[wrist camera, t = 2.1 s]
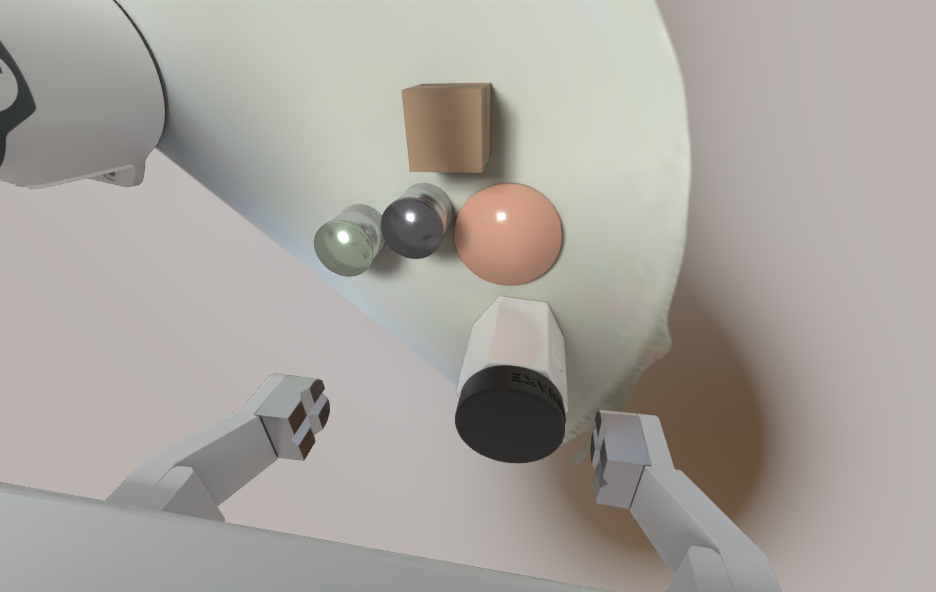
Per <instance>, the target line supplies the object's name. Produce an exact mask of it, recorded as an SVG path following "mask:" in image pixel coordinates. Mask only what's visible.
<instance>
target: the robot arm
mask: <svg viewBox="0 0 936 592" xmlns="http://www.w3.org/2000/svg"><path fill="white" fill-rule="evenodd" d="M164 120H165V106H164V97H163V92H162V87H161V83H160V80H159V77H158V74H157V71H156V68H155V66H154V63H153V61H152V58H151V56H150V54H149V52H148V50H147V48H146V46H145V44H144V43H143V41H142V39H141V37H140V36H139V34H138V33H137V31H136V29H135V28H134V26H133V25H132V24H131V22H130V21H129V19H128V18H127V17H126V15H125V14H124V13H123V12H122V10H121V9H120V8H119V7H118V6H117V4H116V3H115V2H114V1H113V0H0V182H8V183H11V184H15V185H16V186H20V187H27V188H29V189H41V188H46V187H50V186H54V185H59V184H63V183H68V182H72V181H76V180H80V179H85V178H89V179H93V180H98V181H102V182H106V183H111V184H115V185H119V186H123V187H131V186H136V185H139V184H141V183H142V181H143V177H144V170H145V160H146V158H147V156H148V155H149V154H150V152H151V151H152V150H153V149H154V148H155V146H156V145H157V143H158V141H159V140H160V137H161V135H162V131H163V127H164ZM324 389H325V387H324V384H323V381H322V380H319V379H314V378H306V377H300V376H292V375H283V374H275V373H274V374H272V375H270V376H269V377H268V378H267V379H266V380H265V382H264V383H263V384H262V385H261V386H260V387H259V389H258V390H257V391H256V392H255V393H254V394H253V396H252V397H251V398H250V399H249V400H248V401H247V403H246V404H245V405H244V406H243V407H242V408H241V410H240V411H239V412H238V413H231V414H229V415H227V416H226V417H224V418H222V419H220V420H218V421H216V422H214V423H212V424H211V425H209V426H207V427H205V428H203V429H201V430H199V431H197V432H196V433H194V434H192V435H190V436H188V437H186V438H184V439H182V440H180V441H179V442H177V443H175V444H173V445H171V446H169V447H167V448H165V449H164V450H162V451H160V452H158V453H156V454H154V455H152V456H150V457H149V458H147V459H145V460H144V461H143V462H142V463H141V464H140V465H139V466H138V467H137V469H135V471H133V473H132V474H131V475H130V476H129V477H128V478H127V479H126V480H125V481H124V482H123V483H122V484H121V485H120V486H119V487H118V488H117V489H116V490H115V491H114V492H113V493H112V494H111V495H110V496H109V497H108V498H107V499H106V500H105V501H103V500H97V499H91V498H86V497H80V496H75V495H69V494H63V493H58V492H52V491H46V490H41V489H36V488H30V487H25V486H19V485H14V484H8V483H3V482H0V592H614V591H609V590H603V589H597V588H592V587H586V586H581V585H574V584H569V583H563V582H558V581H552V580H547V579H541V578H536V577H530V576H524V575H519V574H513V573H508V572H502V571H496V570H491V569H485V568H480V567H474V566H468V565H462V564H457V563H452V562H446V561H440V560H434V559H429V558H424V557H418V556H412V555H406V554H401V553H395V552H390V551H384V550H379V549H373V548H367V547H362V546H355V545H350V544H345V543H339V542H333V541H328V540H322V539H316V538H311V537H305V536H299V535H294V534H288V533H283V532H277V531H271V530H266V529H260V528H255V527H249V526H243V525H238V524H232V523H226V522H225V519H224V516H223V515H222V514H221V512H220V511H219V509H218V507H217V506H219V505H220V504H221V503H222V502H224V501H225V500H226V499H228V498H229V497H230V496H231V495H233V494H234V493H235V492H236V491H238V490H239V489H240V488H241V487H243V486H244V485H245V484H247V483H248V482H249V481H250V480H251V479H253V478H254V477H256V476H257V475H258V474H259V473H261V472H262V471H263V470H264V469H266V468H267V467H268V466H270V465H271V464H272V463H273V462H275V461H276V460H277V458H286V459H294V460H303V461H304V460H305V458H306V457H307V455H308V453H309V452H310V450H311V448H312V446H313V445H314V443H315V436H314V435H315V434H316V433H318V432H319V431H321V430H322V429H323V428H324V426H325V424H326V423H327V420H328V417H329V413H330V404H329V400H328V398H327V397H326V396H325V395H323V394H322V392H323V390H324ZM595 421H596V428H595V429H594V430H593V433H592V438H591V461H592V465H593V467H594V468H595V469H596V471H595V475H594V479H593V481H594V488H595V498H596V503H597V504H603V505H609V506H615V507H620V508H626V509H630V512H631V513H632V515H633V517H634V518H635V519H636V521H637V522H638V524H639V525H640V527H641V528H642V530H643V531H644V533H645V534H646V535H647V537H648V538H649V540H650V541H651V543H652V544H653V546H654V547H655V549H656V550H657V552H658V553H659V555H660V556H661V557H662V559H663V560H664V562H665V563H666V565H667V566H668V568H669V569H670V571H671V572H672V574H673V575H674V577H673V579H672V581H671V583H670V585H669V587H668V588H667V590H666V592H782V590H781V588H780V586H779V583H778V581H777V579H776V577H775V574H774V572H773V570H772V567H771V565H770V563H769V560H768V558H767V556H766V555H765V554H764V553H763V552H762V551H761V550H760V549H759V548H758V547H757V546H756V545H755V544H754V543H753V542H752V541H751V540H750V539H749V538H748V537H747V536H746V535H745V534H744V533H743V532H742V531H741V530H740V529H739V528H738V527H737V526H736V525H735V524H734V523H733V522H732V521H731V520H730V519H729V518H728V517H727V516H726V515H725V514H724V513H723V512H722V511H721V510H720V509H719V508H718V507H717V506H716V505H715V504H714V503H713V502H712V501H711V500H710V499H709V498H708V497H707V496H706V495H705V494H704V493H703V492H702V491H701V490H700V489H699V488H698V487H697V486H696V485H695V484H694V483H693V482H692V481H691V480H690V479H689V478H688V477H687V476H686V475H685V474H684V473H683V472H682V471H681V470H675V468H674V465H673V462H672V459H671V455H670V452H669V449H668V446H667V442H666V439H665V436H664V433H663V430H662V426H661V423H660V420H659V418H658V417H657V416H655V415H645V414H635V413H626V412H617V411H607V410H598V411H597V414H596V418H595Z"/></svg>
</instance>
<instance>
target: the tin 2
mask: <svg viewBox="0 0 936 592" xmlns="http://www.w3.org/2000/svg"><path fill="white" fill-rule="evenodd" d="M452 215H453V208H452V204H451V201H450V199H449V197H448V196H447V194H446V193H445V192H444V191H443V190H442V189H440V188H439V187H437V186H435V185H433V184H429V183H418V184H415V185H413V186H411V187H409V188H408V189H407V190H406V191H405V192H404V193H403V194H402V195H401V196H400V197H399V198H398V199H397V200H396V201H394V202H393V203H391V204H390V205H389V206H388V207H387V209H386V210H385V211H384V213H383V215H382V218H381V231H382V235H383V237H384V239H385V241H386V243H387V244H388V245H389V247H390V248H391V249H392V250H394V251H395V252H396V253H398V254H399V255H401V256H404V257H407V258H411V259H420V258H425V257H427V256H429V255H431V254H432V253H434V252H435V251H436V250H437V248H438V247H439V245H440V243H441V241H442V238H443V235H444V233H445V231H446V229H447V228H448V226H449V224H450V222H451V219H452Z"/></svg>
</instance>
